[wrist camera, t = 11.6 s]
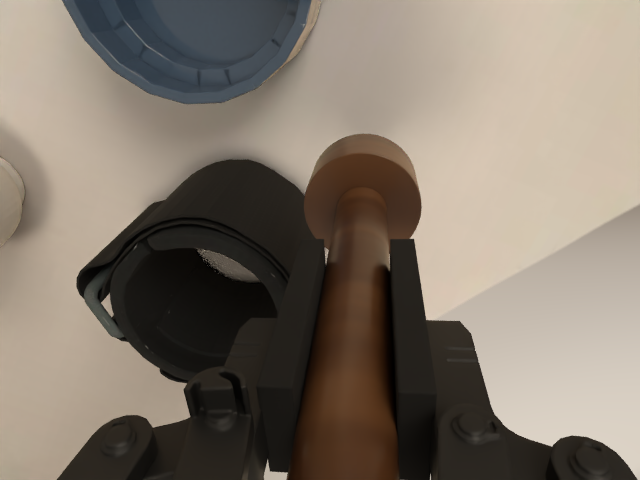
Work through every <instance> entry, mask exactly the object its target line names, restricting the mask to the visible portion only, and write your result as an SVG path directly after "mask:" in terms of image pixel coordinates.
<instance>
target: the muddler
mask: <svg viewBox="0 0 640 480" xmlns="http://www.w3.org/2000/svg"><path fill="white" fill-rule="evenodd" d="M304 213H305V218H306V222H307V224H308V227H309V229H310V231H311V232H312V234H313V235H314V237H315V238H316V239H324V247H326V248H327V249H328V250H329V253H328V258H327V264H326V269H325V274H324V280H323V285H322V291H321V296H320V301H319V307H318V312H317V318H316V323H315V328H314V334H313V339H312V345H311V350H310V355H309V361H308V366H307V372H306V377H305V382H304V388H303V393H302V399H301V404H300V409H299V415H298V420H297V426H296V431H295V436H294V442H293V447H292V453H291V458H290V463H289V469H288V474H287V480H400V470H399V450H398V434H397V420H396V399H395V377H394V355H393V333H392V311H391V289H390V265H389V254H390V239H409V238H410V237H411V236H412V235H413V233H414V231H415V230H416V228H417V225H418V223H419V220H420V216H421V197H420V192H419V187H418V183H417V178H416V174H415V170H414V167H413V164H412V162H411V160H410V159H409V157H408V156H407V154H406V153H405V152H404V151H403V150H402V149H401V148H400V147H399V146H398V145H397V144H395V143H394V142H392V141H390V140H388V139H386V138H384V137H381V136H378V135H372V134H356V135H351V136H347V137H345V138H342V139H340V140H338V141H336V142H335V143H333V144H332V145H330V146H329V147H328V148H327V149H326V150H325V151H324V152H323V153H322V155H321V156H320V157H319V159H318V161H317V163H316V165H315V167H314V170H313V173H312V176H311V178H310V181H309V184H308V187H307V190H306V193H305V198H304Z"/></svg>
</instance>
